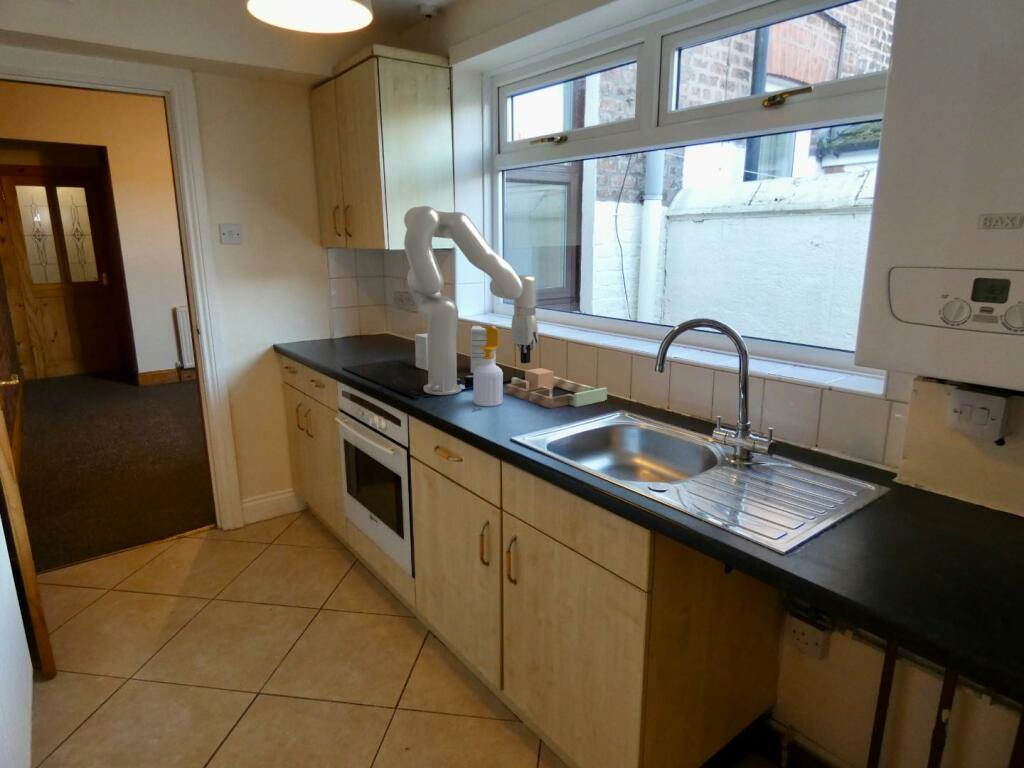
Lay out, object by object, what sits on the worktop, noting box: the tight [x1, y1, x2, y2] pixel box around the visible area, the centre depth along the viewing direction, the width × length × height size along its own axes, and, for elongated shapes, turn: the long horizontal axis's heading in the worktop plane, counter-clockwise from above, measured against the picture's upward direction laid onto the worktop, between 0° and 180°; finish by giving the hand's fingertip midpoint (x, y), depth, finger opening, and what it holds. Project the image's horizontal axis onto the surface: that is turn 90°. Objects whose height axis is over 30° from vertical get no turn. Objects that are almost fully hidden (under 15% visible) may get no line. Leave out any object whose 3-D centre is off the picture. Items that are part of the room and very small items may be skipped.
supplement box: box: [470, 325, 497, 374], centre depth 240 cm, size 10×9×17 cm
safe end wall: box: [573, 387, 608, 408], centre depth 197 cm, size 1×13×4 cm, turn 128°
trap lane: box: [505, 376, 598, 409], centre depth 208 cm, size 31×21×3 cm
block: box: [524, 367, 555, 389], centre depth 216 cm, size 7×7×6 cm
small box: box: [414, 332, 428, 371], centre depth 244 cm, size 8×6×13 cm
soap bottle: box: [472, 325, 504, 408], centre depth 194 cm, size 9×9×25 cm
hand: (525, 362), depth 223 cm, fingers closed
